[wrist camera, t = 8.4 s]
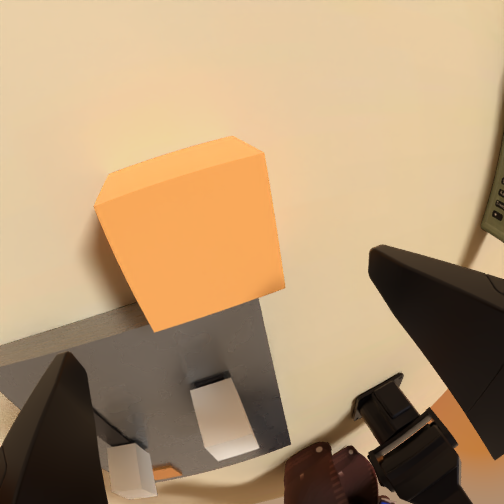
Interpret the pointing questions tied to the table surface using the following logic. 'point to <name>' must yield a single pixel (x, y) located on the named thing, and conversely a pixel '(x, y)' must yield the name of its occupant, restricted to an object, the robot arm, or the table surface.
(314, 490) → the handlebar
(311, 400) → the table surface
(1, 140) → the table surface
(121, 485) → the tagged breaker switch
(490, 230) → the handheld radio
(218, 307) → the cap
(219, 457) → the switch
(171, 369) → the breaker panel
